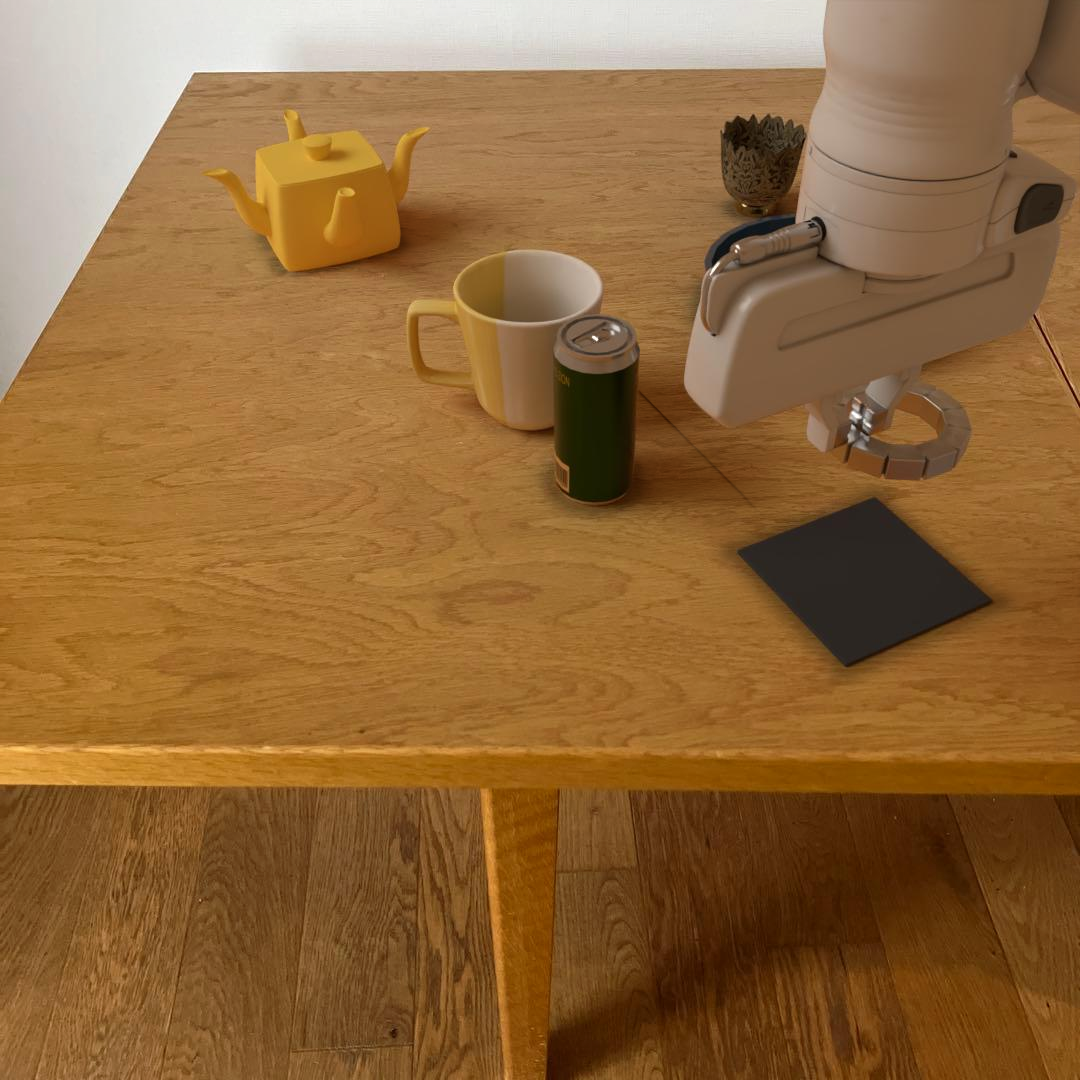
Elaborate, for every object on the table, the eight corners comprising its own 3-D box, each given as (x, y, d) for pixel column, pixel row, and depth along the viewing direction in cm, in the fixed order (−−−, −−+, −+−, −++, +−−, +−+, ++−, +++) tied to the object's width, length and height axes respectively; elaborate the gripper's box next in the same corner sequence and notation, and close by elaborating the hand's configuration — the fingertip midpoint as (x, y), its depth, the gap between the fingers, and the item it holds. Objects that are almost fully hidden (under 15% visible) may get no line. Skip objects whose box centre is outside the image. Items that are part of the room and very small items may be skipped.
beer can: (585, 521, 79) (587, 370, 71) (539, 479, 82) (535, 330, 74) (649, 490, 81) (658, 340, 73) (601, 451, 84) (605, 303, 76)
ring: (900, 381, 71) (905, 361, 70) (995, 455, 65) (1002, 435, 65) (789, 416, 68) (792, 395, 67) (878, 497, 63) (884, 476, 62)
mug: (614, 380, 91) (618, 256, 84) (582, 462, 84) (583, 334, 77) (444, 355, 94) (433, 234, 87) (398, 432, 86) (383, 306, 79)
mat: (873, 503, 80) (874, 496, 79) (990, 607, 73) (992, 600, 72) (736, 556, 76) (737, 549, 76) (844, 671, 69) (846, 664, 69)
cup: (729, 189, 114) (737, 106, 108) (804, 204, 111) (816, 120, 106) (701, 223, 109) (708, 138, 103) (780, 239, 106) (791, 154, 101)
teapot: (219, 267, 104) (196, 161, 98) (297, 196, 114) (281, 95, 108) (370, 295, 101) (357, 187, 94) (437, 219, 110) (429, 116, 104)
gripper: (748, 283, 50) (719, 529, 59) (1106, 177, 57) (1029, 413, 66) (668, 220, 54) (653, 459, 64) (1011, 128, 61) (951, 357, 70)
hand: (847, 435), depth 65 cm, fingers closed on ring, 1 cm apart
